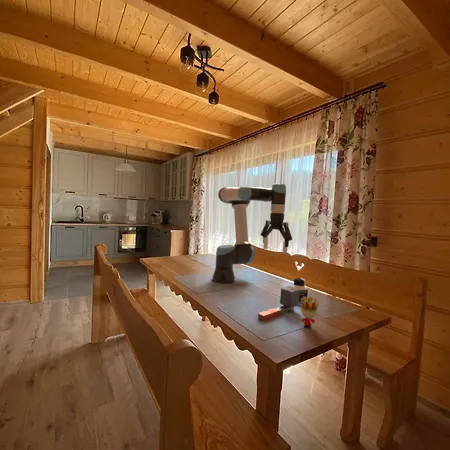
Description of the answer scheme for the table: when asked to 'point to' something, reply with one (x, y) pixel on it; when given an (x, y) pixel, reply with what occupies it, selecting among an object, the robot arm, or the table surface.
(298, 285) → the medicine bottle
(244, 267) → the table surface
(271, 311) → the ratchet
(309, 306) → the toy
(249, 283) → the table surface
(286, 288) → the dark wooden cube
